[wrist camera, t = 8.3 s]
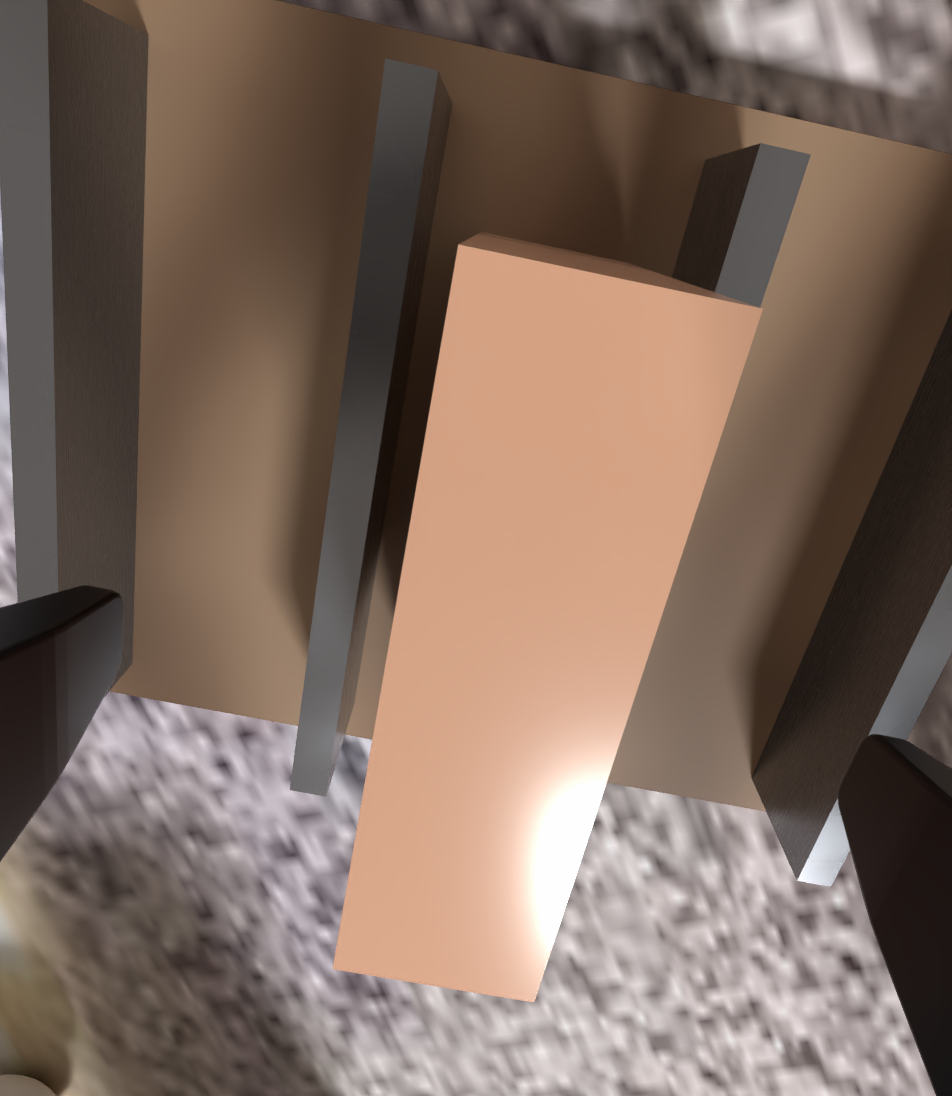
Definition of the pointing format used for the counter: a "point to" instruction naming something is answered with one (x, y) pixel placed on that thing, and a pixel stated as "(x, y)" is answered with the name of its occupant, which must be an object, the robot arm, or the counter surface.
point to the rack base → (324, 325)
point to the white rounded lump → (22, 1086)
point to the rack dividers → (400, 401)
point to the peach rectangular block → (529, 599)
